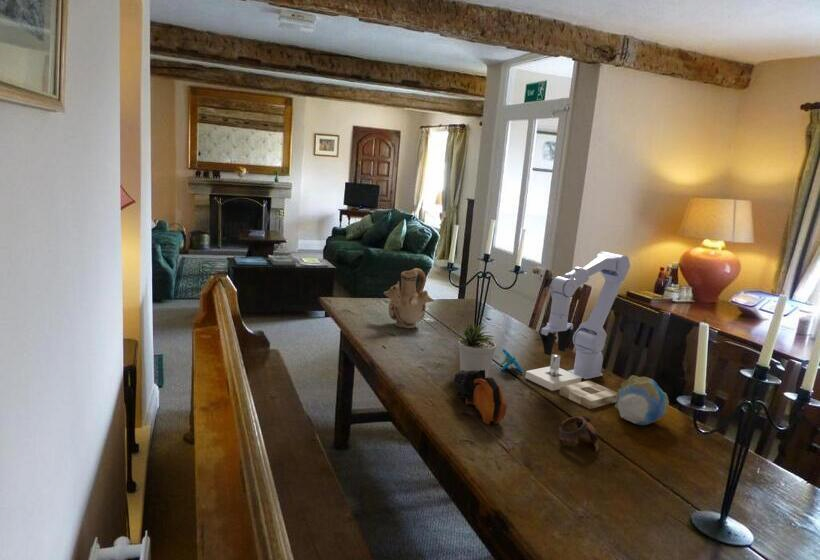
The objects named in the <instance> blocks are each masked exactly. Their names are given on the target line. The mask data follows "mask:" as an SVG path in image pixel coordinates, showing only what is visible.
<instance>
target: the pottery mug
mask: <svg viewBox="0 0 820 560" xmlns="http://www.w3.org/2000/svg"><path fill="white" fill-rule="evenodd" d="M574 423H575V424H576V426H577V428H576V429H574V430H573V431H565V430H564V429H566V427H567V426H570V425H571V424H574ZM558 431H559V434H558V435H559V437H558V439H559V440H561V441H563V442H564V443H566V442H568V443H572V442H573V443H575V444H579V437H581V438H585V439H589V442H590V443H593V446H594V451H595V452H596V453H597V452H598V451H599V449H600V445H599V442H600V441H599V437H598V433H597V430H596V429H595V427H594V426H593V424H592V423H591V419H590V417H589V416H588V415H582V416H572V417H569V418H567V419H565V420H564V421H562V422H561V423H560V426H559V427H558Z"/></svg>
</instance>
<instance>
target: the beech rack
mask: <svg viewBox="0 0 820 560" xmlns="http://www.w3.org/2000/svg"><path fill="white" fill-rule="evenodd" d="M617 393H618V391H617V392H616V391H615V390H612V389H610V388H608V387H606V386H603V385H601V384H598V383H596V382H593V381H591V380H585V381H581V382H580V383H575V384H571V385H566V386H562V387H560V389H559V395H560V396H562V397H563V398H567V399H569V400H571V402H572V401H573V402H575V403H577V404H579V405H580V406H582V407H585V408H587V409H588V410H589V409H590V410H591V409H595V408H599V407H603V406H606V404H607V405H611V404H614V403H618V402H617V399H616V395H617ZM610 403H611V404H610Z"/></svg>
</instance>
